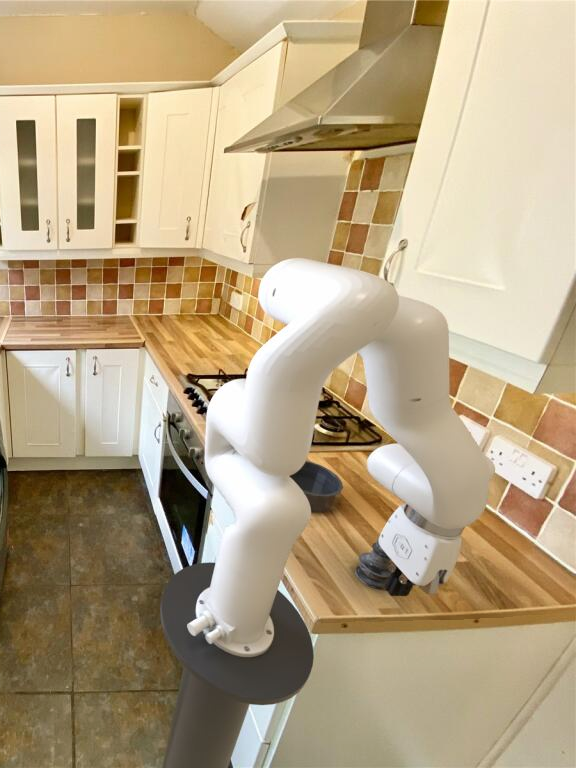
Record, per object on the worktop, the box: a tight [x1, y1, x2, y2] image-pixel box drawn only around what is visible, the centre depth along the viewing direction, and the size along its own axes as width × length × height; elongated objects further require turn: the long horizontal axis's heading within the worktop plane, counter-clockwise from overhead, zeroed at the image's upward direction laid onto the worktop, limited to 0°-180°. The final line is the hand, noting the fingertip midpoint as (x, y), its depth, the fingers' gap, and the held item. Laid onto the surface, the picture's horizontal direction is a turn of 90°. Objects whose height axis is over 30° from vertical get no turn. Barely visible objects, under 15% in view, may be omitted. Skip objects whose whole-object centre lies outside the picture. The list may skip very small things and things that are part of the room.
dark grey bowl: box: [289, 460, 344, 514], centre depth 103 cm, size 14×14×5 cm
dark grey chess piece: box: [354, 535, 392, 590], centre depth 78 cm, size 6×6×12 cm
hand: (395, 591), depth 75 cm, fingers closed
